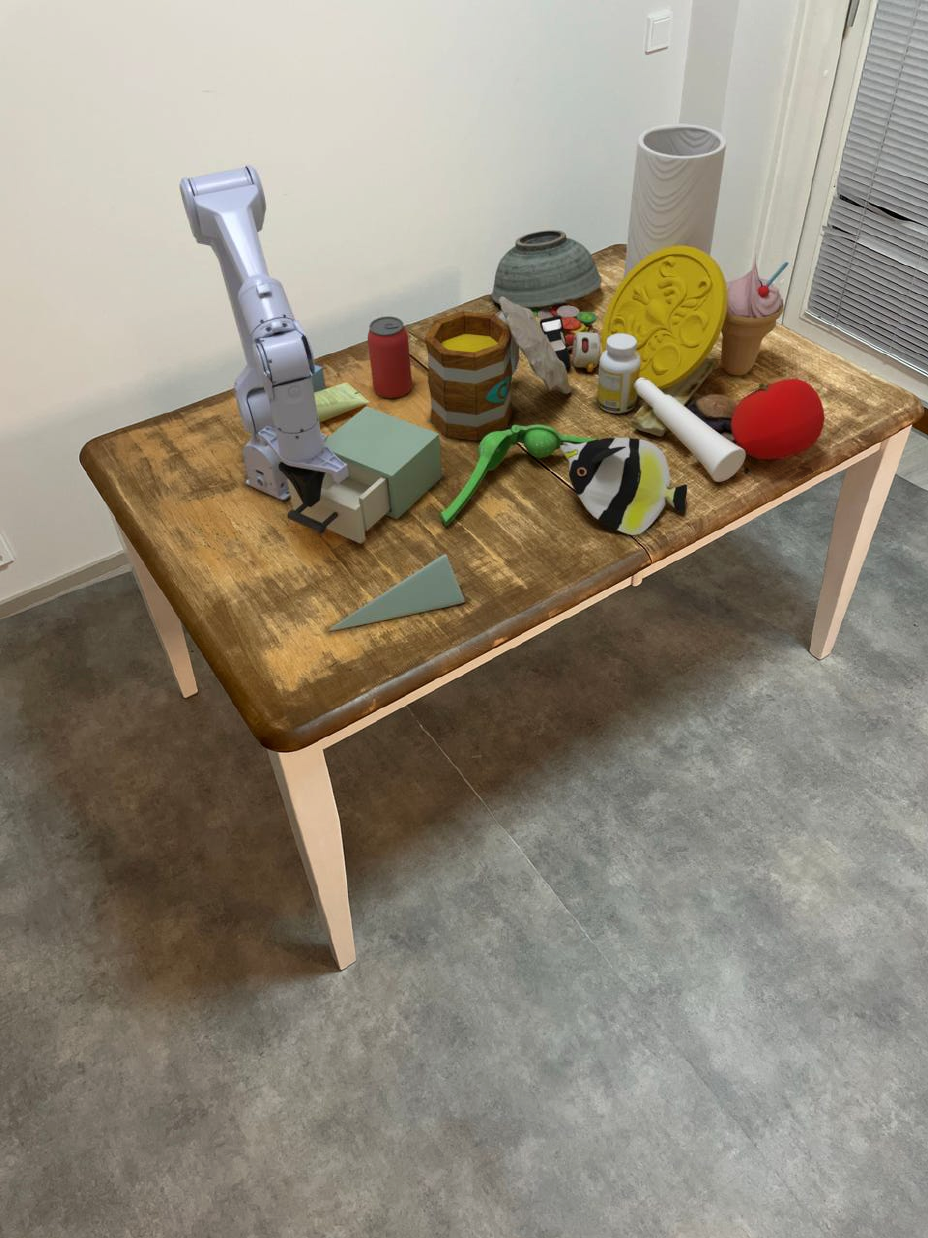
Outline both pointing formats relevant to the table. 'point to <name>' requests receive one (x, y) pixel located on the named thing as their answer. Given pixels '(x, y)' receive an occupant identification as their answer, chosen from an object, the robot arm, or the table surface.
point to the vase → (674, 190)
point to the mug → (471, 374)
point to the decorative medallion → (670, 312)
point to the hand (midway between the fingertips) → (311, 501)
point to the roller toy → (586, 350)
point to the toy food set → (568, 320)
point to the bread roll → (715, 412)
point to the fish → (622, 481)
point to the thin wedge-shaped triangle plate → (411, 596)
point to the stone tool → (535, 345)
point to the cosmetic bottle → (693, 433)
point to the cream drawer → (345, 504)
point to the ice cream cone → (748, 319)
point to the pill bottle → (618, 374)
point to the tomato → (778, 419)
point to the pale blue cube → (318, 379)
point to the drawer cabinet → (391, 454)
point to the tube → (337, 401)
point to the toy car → (556, 338)
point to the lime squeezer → (494, 449)
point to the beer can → (389, 357)
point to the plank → (680, 392)
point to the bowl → (545, 271)
